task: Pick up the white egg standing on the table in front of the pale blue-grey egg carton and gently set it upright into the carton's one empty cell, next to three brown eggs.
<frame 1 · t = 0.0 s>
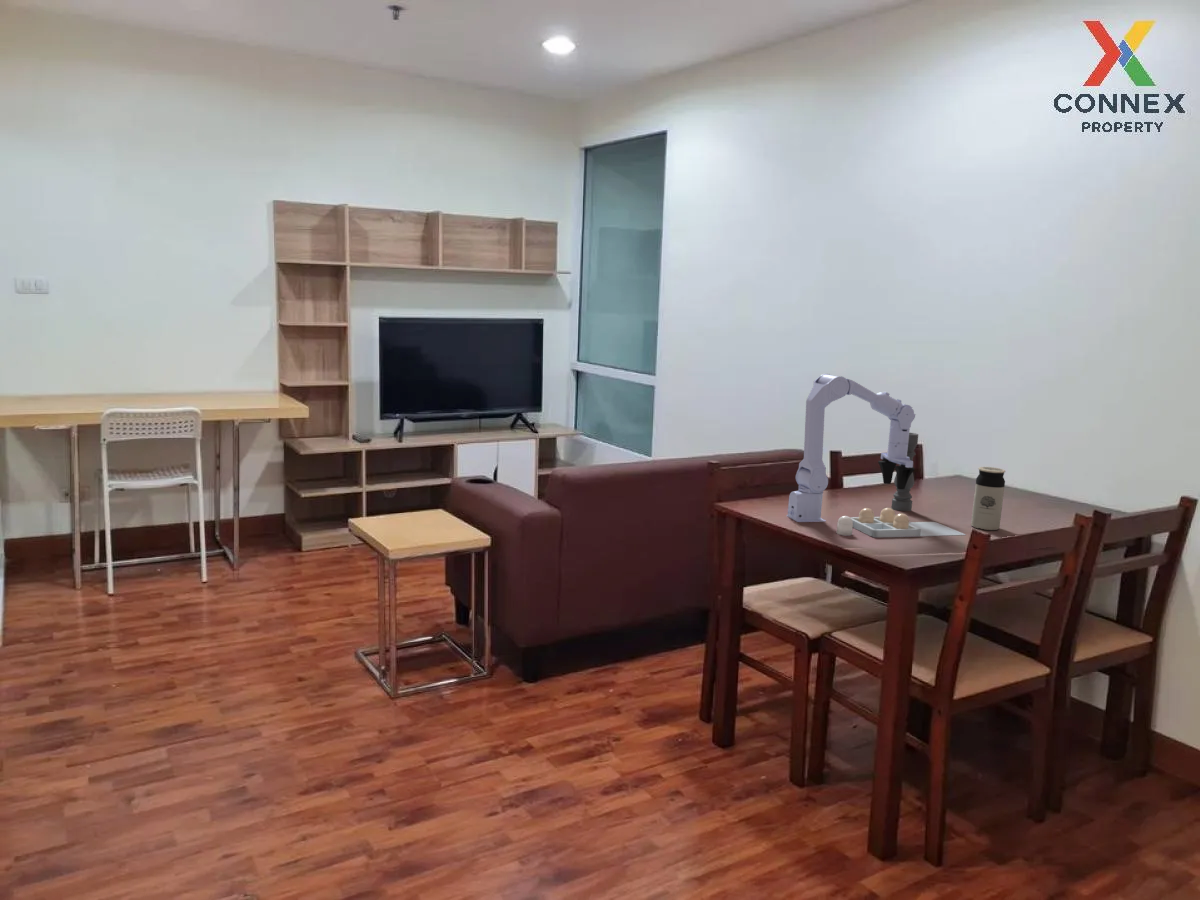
hand: (893, 486, 278), 10 cm above the table, tool pointing down, fingers open, 7 cm apart
white egg: (844, 535, 256), on the table
brown egg far: (886, 526, 266), resting on egg carton
egg carton: (882, 531, 262), on the table
brown egg back: (900, 532, 260), resting on egg carton
travel mug: (984, 528, 273), on the table
brown egg left: (865, 527, 265), resting on egg carton
candle holder: (901, 510, 291), on the table
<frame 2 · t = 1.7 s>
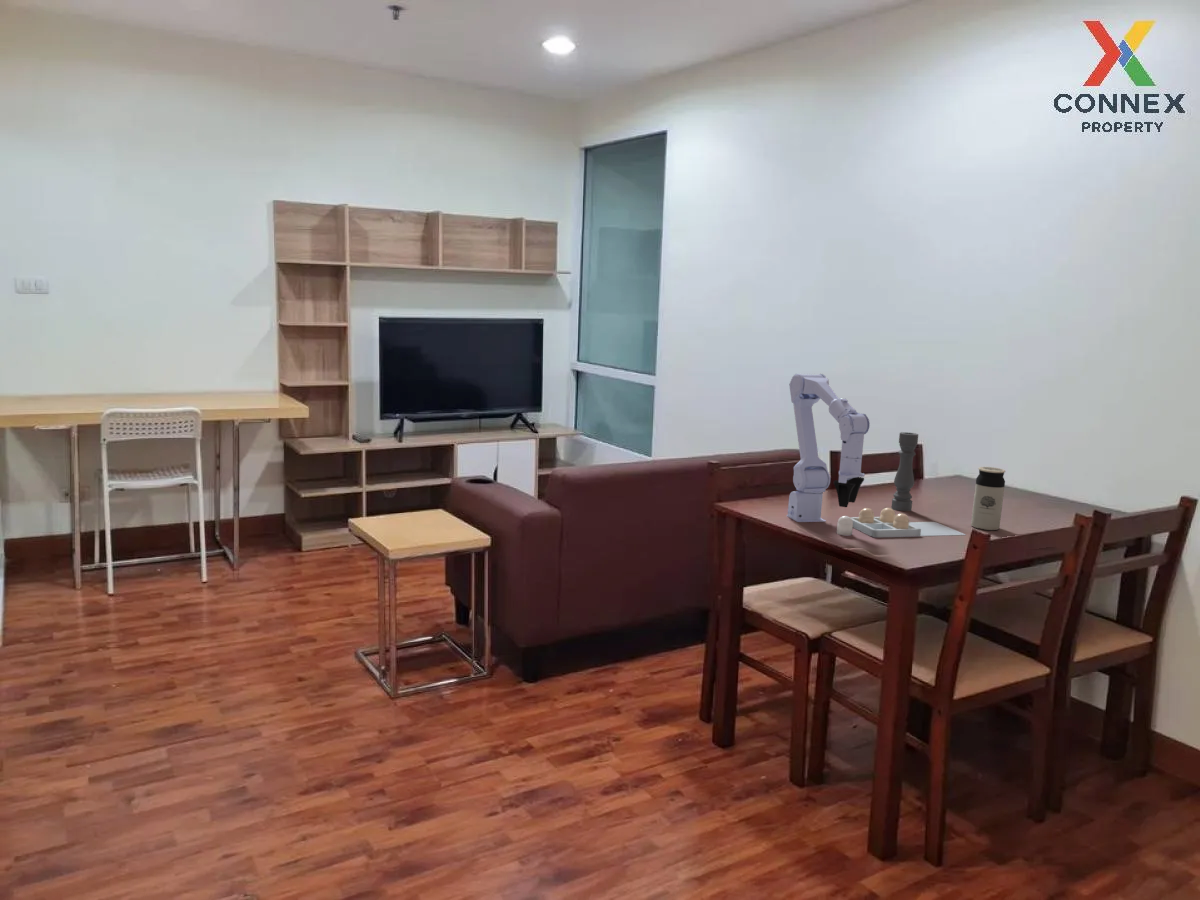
hand: (847, 504, 254), 9 cm above the table, tool pointing down, fingers open, 7 cm apart
nothing on the table moved.
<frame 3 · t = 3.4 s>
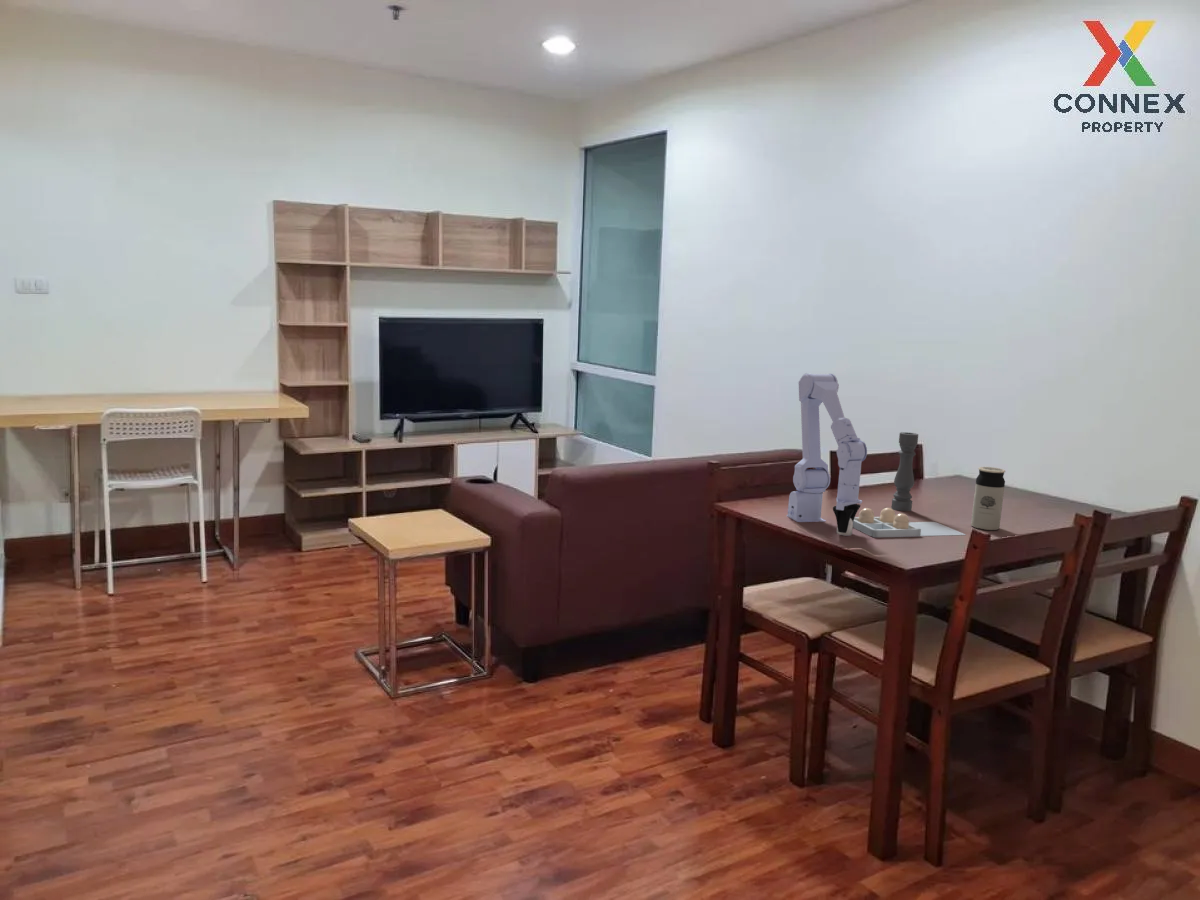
hand: (844, 530, 256), 1 cm above the table, tool pointing down, fingers closed on white egg, 4 cm apart
white egg: (844, 535, 256), on the table, touching gripper
everything else where it was.
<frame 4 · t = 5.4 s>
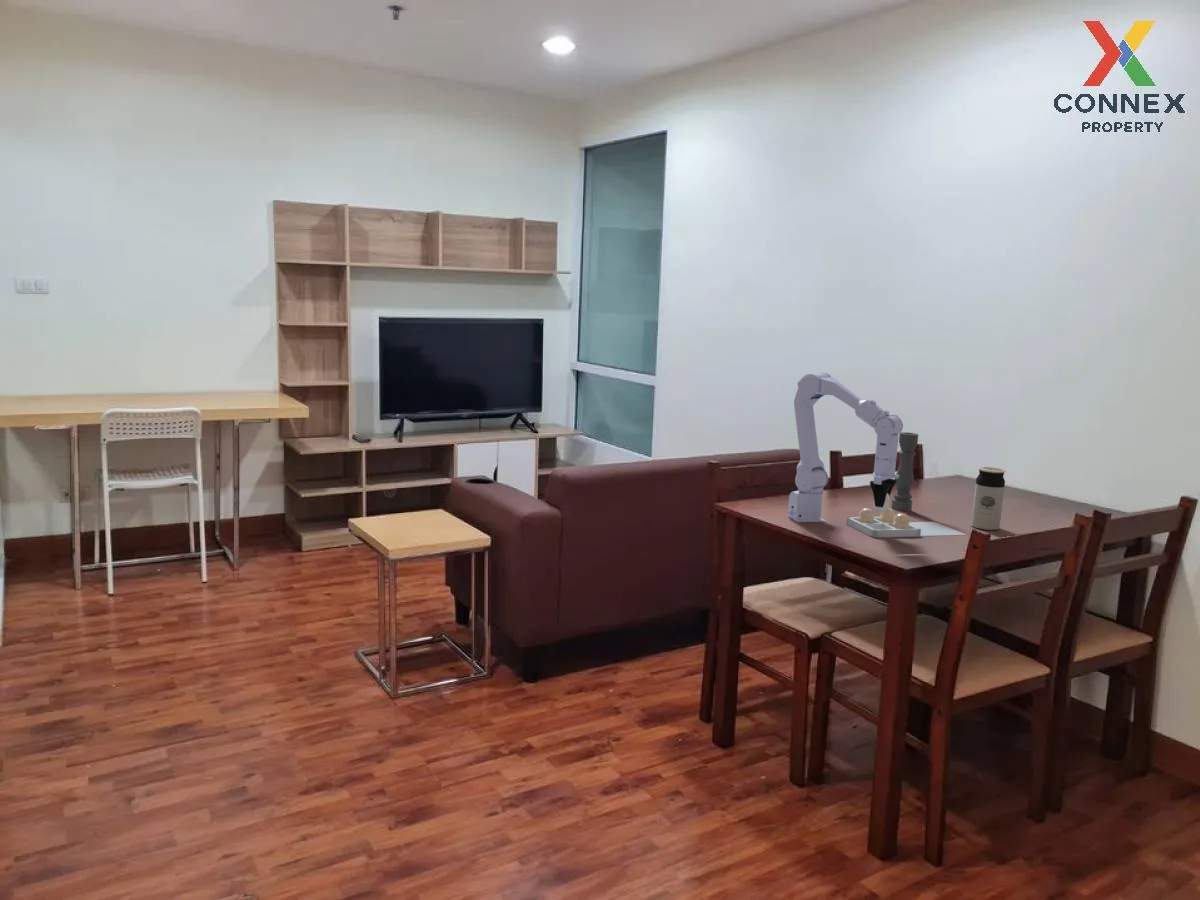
hand: (881, 505, 256), 9 cm above the table, tool pointing down, fingers closed on white egg, 4 cm apart
white egg: (880, 510, 257), point 7 cm above the table, touching gripper
everything else where it was.
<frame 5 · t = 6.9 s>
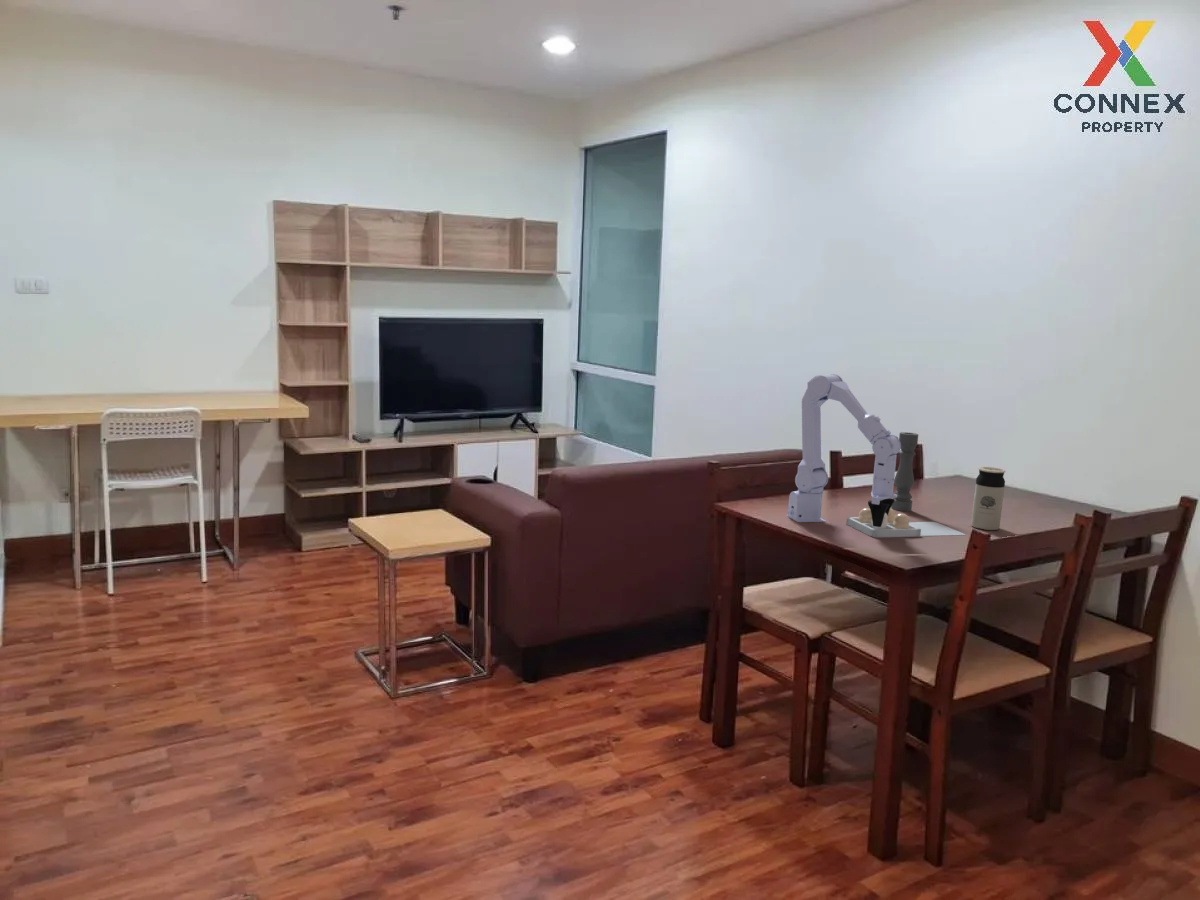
hand: (879, 524, 257), 3 cm above the table, tool pointing down, fingers closed on white egg, 4 cm apart
white egg: (878, 529, 258), point 2 cm above the table, touching gripper
everything else where it was.
when the fingers open (3 cm above the table, at t = 7.8 s): white egg drops 1 cm, resting on egg carton.
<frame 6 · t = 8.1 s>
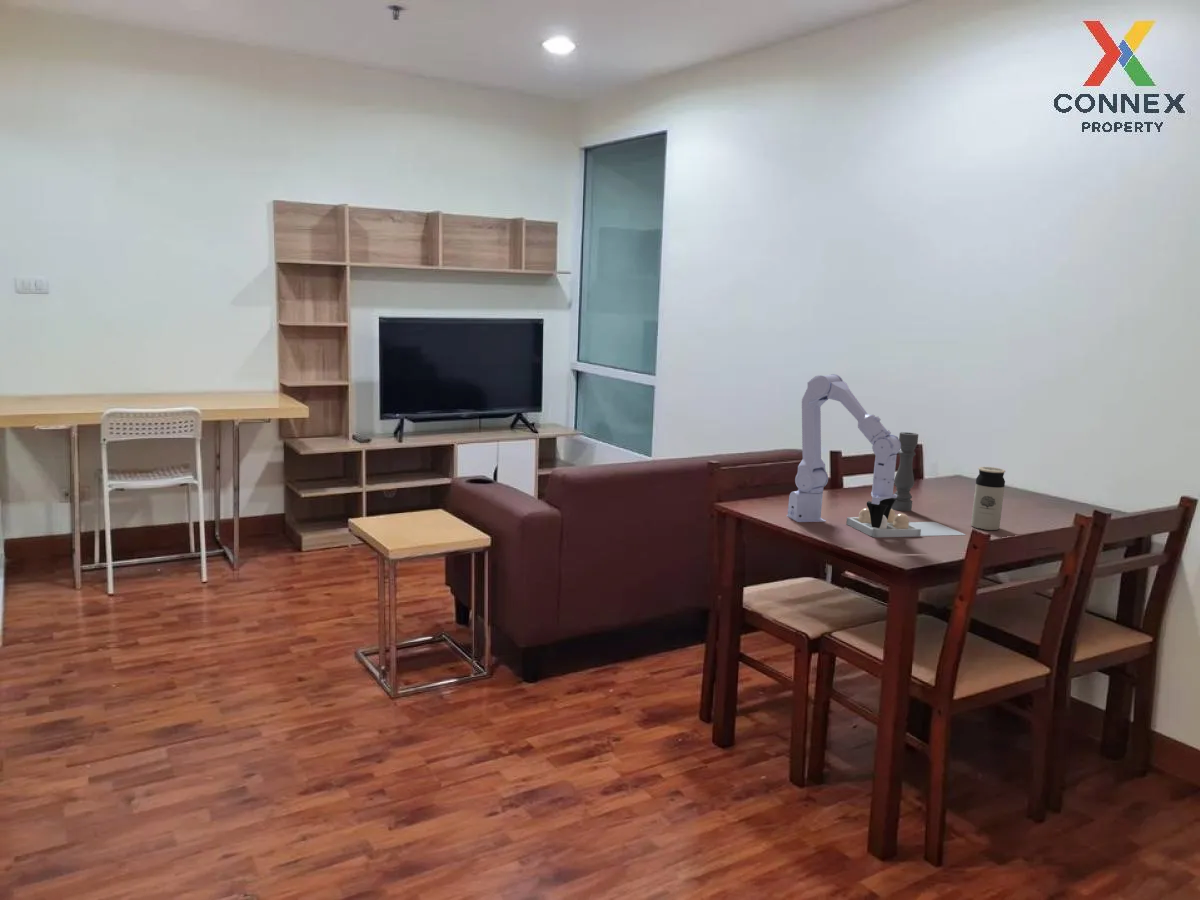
hand: (879, 524, 257), 3 cm above the table, tool pointing down, fingers open, 7 cm apart
white egg: (878, 533, 258), resting on egg carton
everything else where it was.
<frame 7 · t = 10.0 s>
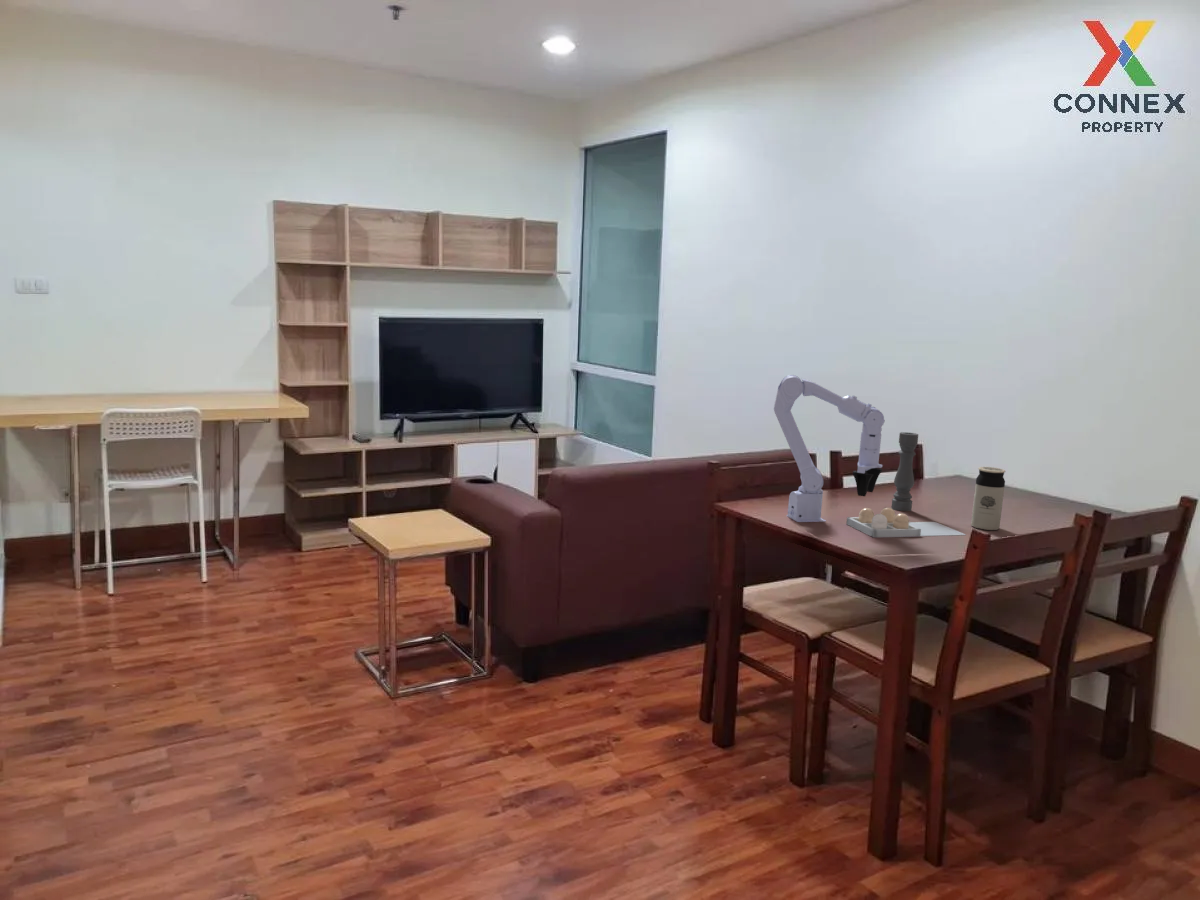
hand: (865, 493, 268), 9 cm above the table, tool pointing down, fingers open, 7 cm apart
nothing on the table moved.
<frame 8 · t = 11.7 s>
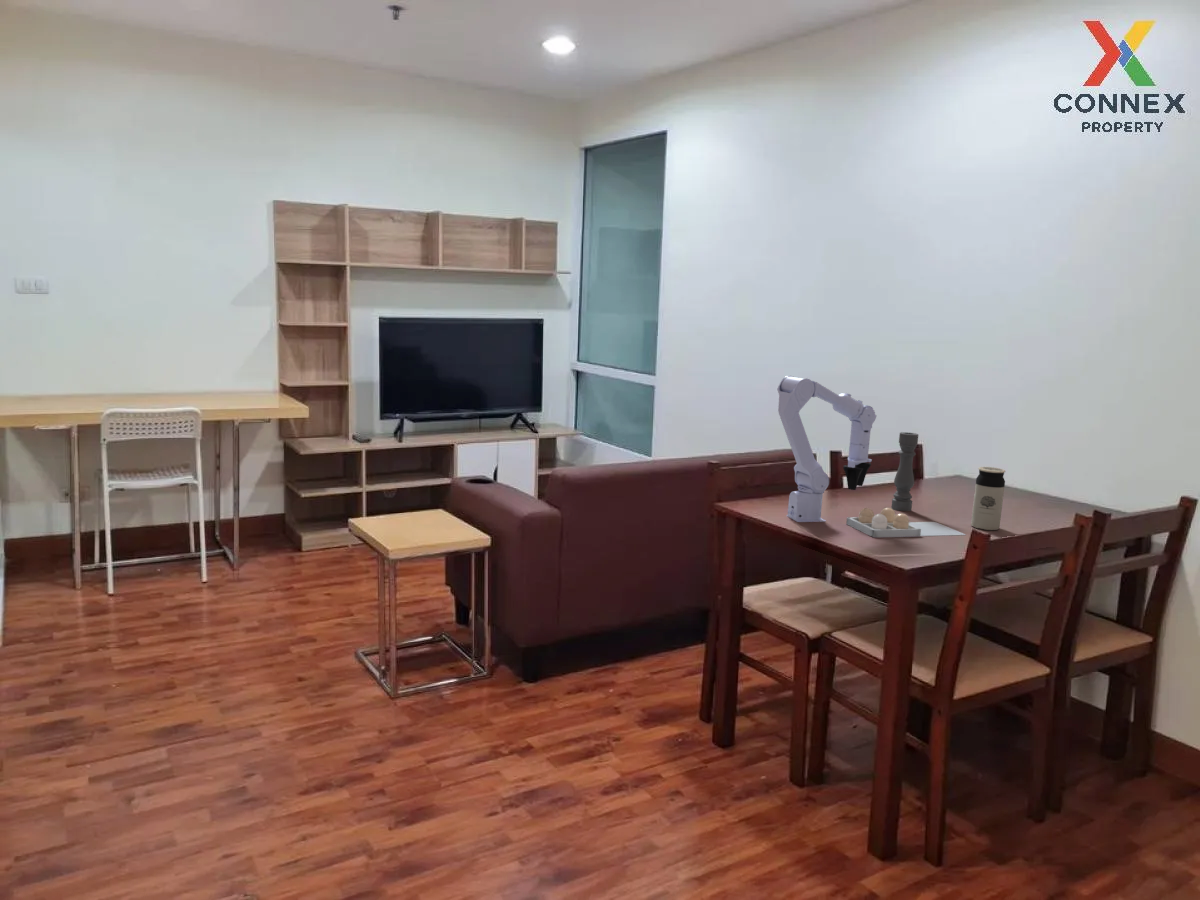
hand: (855, 487, 277), 9 cm above the table, tool pointing down, fingers open, 7 cm apart
nothing on the table moved.
at the end: white egg 0.0 cm from the target spot on the egg carton, point 0.5 cm above the egg carton's base; white egg tilted 0°; the gripper is holding nothing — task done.
